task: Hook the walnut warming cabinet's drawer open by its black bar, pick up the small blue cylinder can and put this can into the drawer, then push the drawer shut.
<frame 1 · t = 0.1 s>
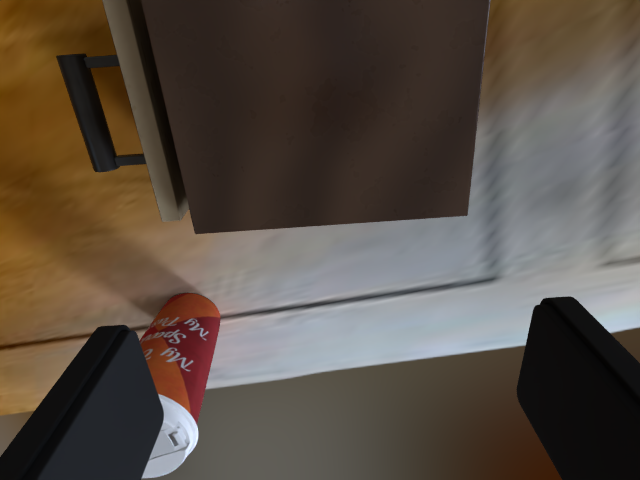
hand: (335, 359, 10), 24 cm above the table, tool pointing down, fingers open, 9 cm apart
paper cup: (191, 315, 39), on the table
drawer: (239, 103, 26), point 5 cm above the table, slide at 1.0 cm
cabinet: (320, 88, 30), on the table
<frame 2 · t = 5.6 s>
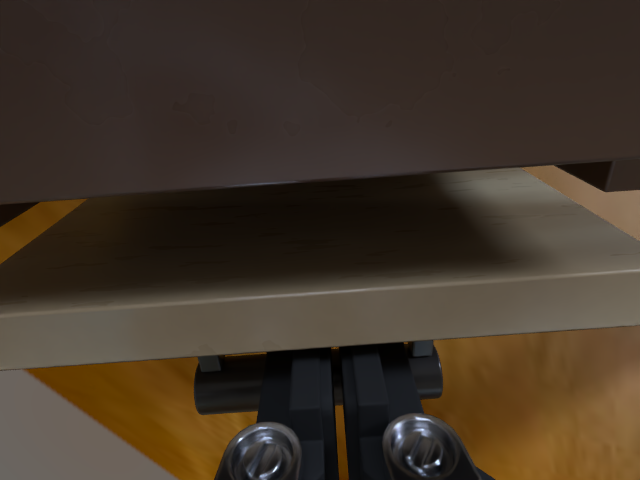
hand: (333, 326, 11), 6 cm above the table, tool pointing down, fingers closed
drawer: (287, 18, 8), point 5 cm above the table, slide at 2.2 cm, touching gripper
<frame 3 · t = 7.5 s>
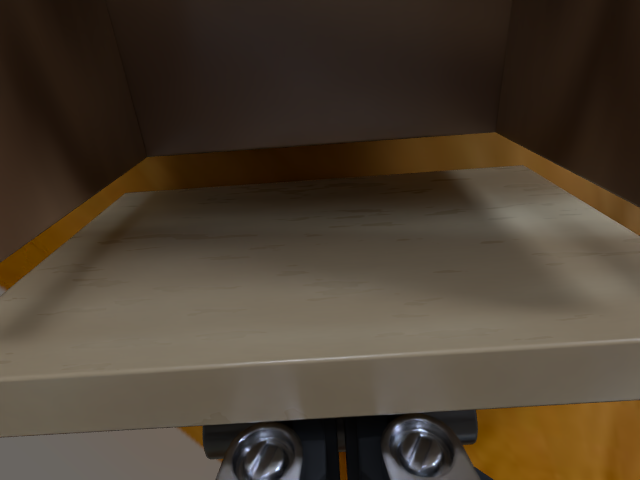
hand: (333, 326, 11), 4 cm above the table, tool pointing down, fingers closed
drawer: (311, 28, 7), point 5 cm above the table, slide at 9.8 cm
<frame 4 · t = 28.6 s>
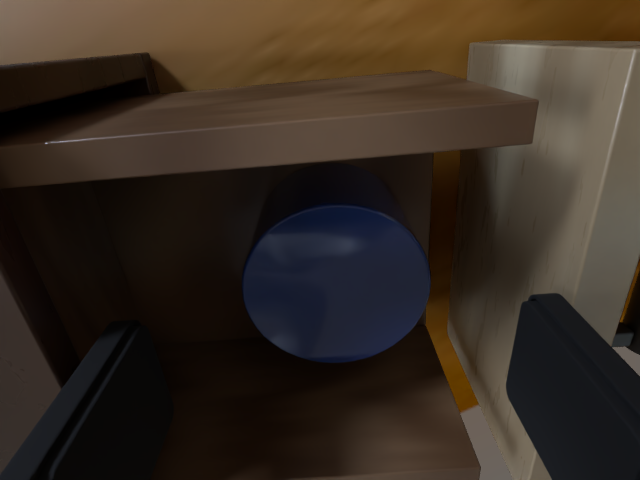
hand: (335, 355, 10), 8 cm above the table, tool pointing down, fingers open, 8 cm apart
blue cylinder can: (331, 233, 15), point 2 cm above the table, touching drawer
drawer: (367, 270, 13), point 5 cm above the table, slide at 11.0 cm, touching blue cylinder can, gripper
cabinet: (5, 240, 18), on the table
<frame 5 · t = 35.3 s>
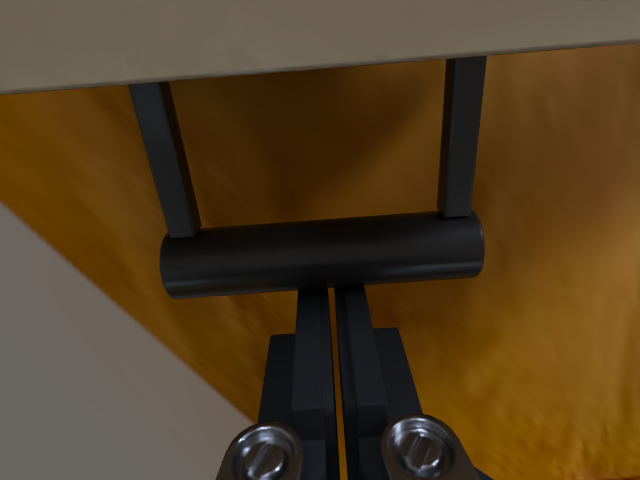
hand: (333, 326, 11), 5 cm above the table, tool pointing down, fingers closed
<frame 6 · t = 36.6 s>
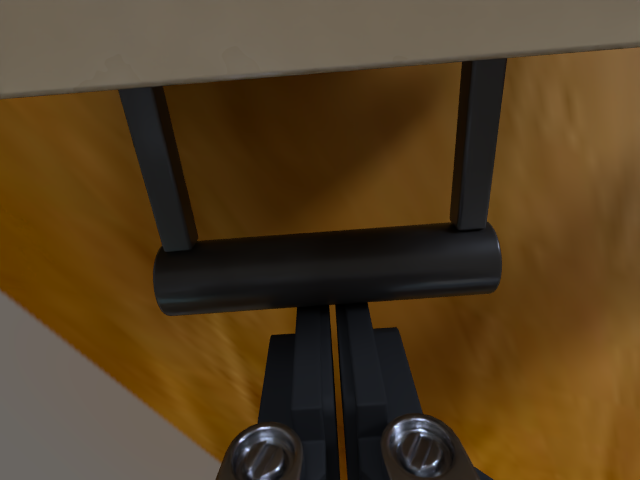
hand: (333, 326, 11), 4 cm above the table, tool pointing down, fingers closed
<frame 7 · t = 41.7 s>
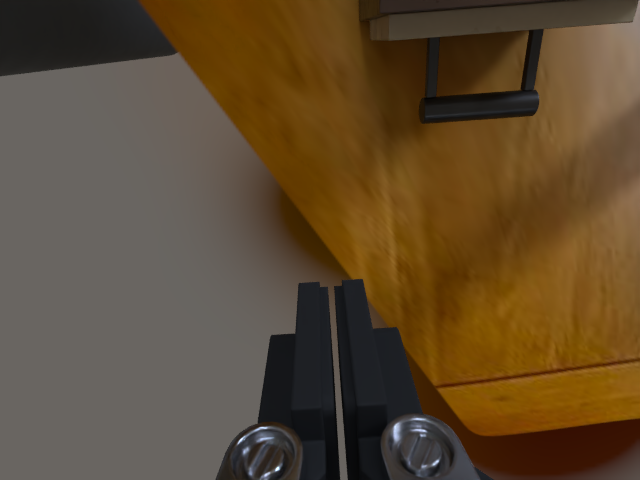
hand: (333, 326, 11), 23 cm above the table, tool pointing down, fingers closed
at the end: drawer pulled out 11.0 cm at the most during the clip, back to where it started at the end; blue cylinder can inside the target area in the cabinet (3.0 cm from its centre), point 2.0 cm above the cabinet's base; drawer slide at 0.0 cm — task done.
